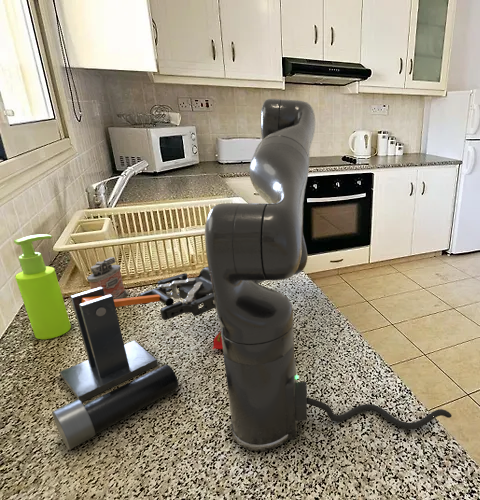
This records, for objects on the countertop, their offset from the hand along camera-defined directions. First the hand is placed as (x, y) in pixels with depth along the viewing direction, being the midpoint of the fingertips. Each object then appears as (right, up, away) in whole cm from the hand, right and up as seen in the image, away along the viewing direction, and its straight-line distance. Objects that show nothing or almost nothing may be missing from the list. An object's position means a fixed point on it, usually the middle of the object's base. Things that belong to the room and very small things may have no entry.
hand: (150, 307), depth 68 cm
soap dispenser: (-24, -6, +8) cm, 26 cm away
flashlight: (+3, -14, -11) cm, 18 cm away
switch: (-2, 0, -3) cm, 4 cm away
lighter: (-20, -2, +20) cm, 29 cm away
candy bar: (+13, -7, +10) cm, 18 cm away
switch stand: (-5, -11, -3) cm, 12 cm away
